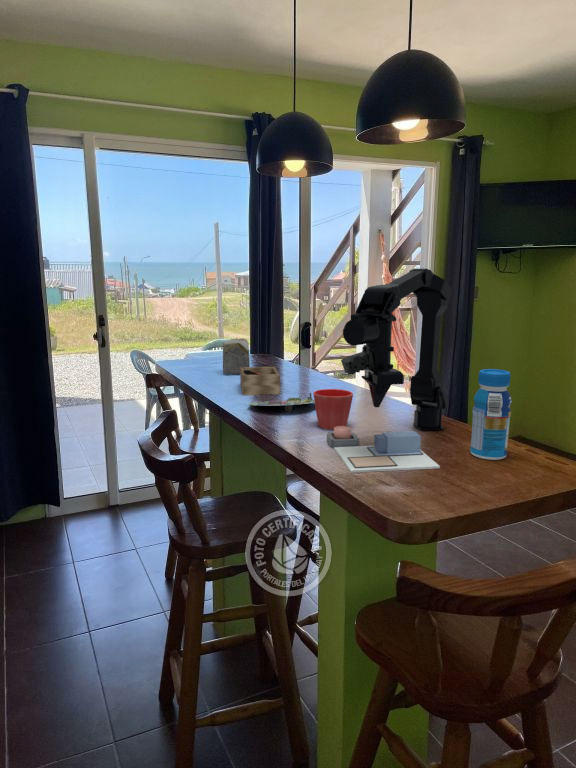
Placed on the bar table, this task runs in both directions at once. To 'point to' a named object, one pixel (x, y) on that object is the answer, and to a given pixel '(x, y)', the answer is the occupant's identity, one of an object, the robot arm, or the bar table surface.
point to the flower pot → (332, 407)
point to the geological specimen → (235, 355)
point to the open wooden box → (260, 381)
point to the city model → (285, 402)
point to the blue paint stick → (397, 442)
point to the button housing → (342, 441)
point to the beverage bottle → (491, 415)
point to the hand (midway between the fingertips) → (376, 407)
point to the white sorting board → (382, 460)
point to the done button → (342, 432)
